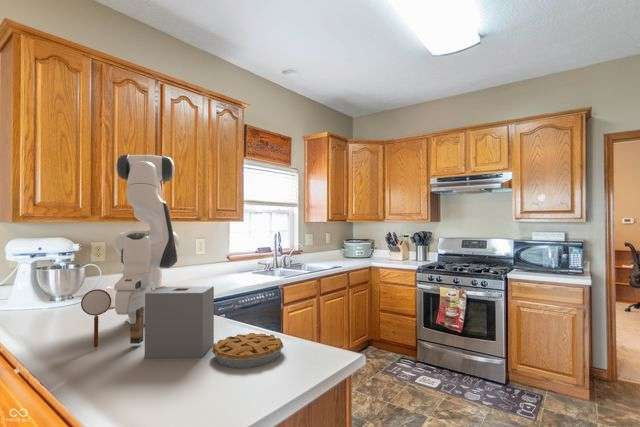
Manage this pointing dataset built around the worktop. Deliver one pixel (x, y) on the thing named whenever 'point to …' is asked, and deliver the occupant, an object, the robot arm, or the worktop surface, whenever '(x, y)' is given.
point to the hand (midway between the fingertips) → (136, 321)
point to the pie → (247, 350)
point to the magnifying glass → (96, 307)
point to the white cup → (111, 295)
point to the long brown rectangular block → (137, 327)
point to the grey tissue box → (179, 322)
